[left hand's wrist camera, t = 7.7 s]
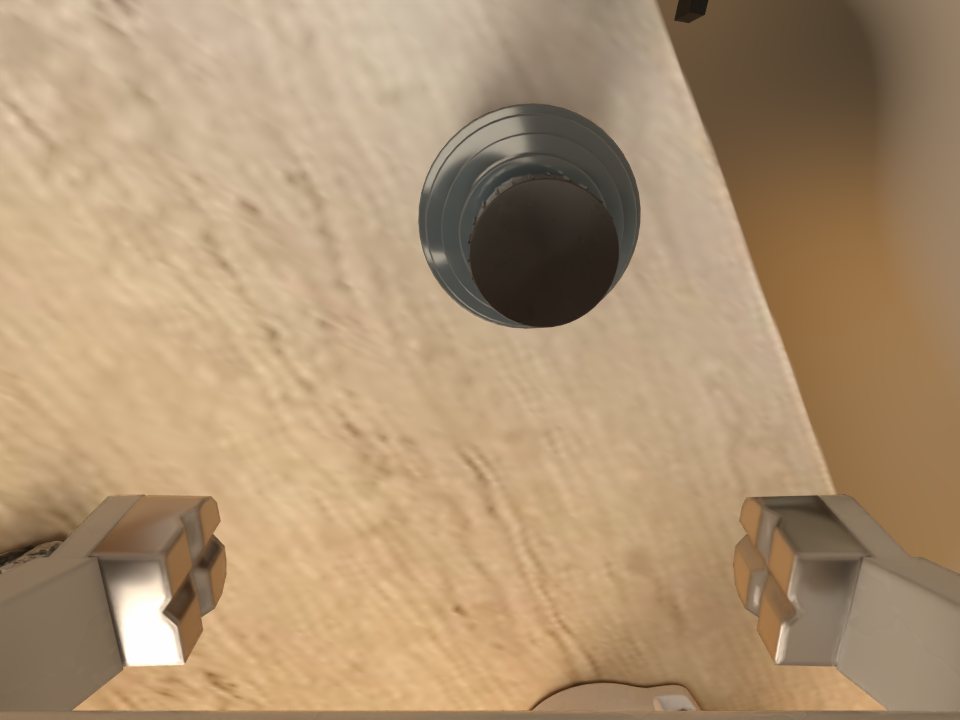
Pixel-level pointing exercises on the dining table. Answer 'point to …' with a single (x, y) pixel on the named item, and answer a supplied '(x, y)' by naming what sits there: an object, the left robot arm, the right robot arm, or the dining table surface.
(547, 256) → the cap
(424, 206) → the bottle
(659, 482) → the dining table surface
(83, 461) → the dining table surface
